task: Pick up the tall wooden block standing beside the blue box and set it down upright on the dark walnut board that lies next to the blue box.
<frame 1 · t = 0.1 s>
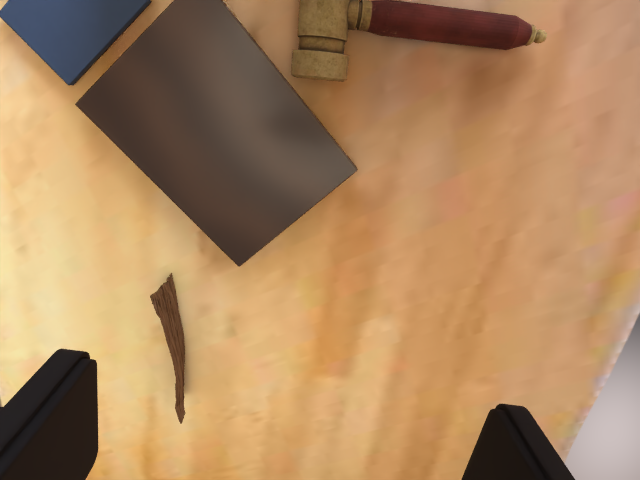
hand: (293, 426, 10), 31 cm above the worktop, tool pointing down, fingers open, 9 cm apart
walnut board: (224, 136, 38), on the worktop
blue box: (77, 8, 34), on the worktop
wood plank: (178, 334, 45), on the worktop
gavel: (418, 25, 35), on the worktop
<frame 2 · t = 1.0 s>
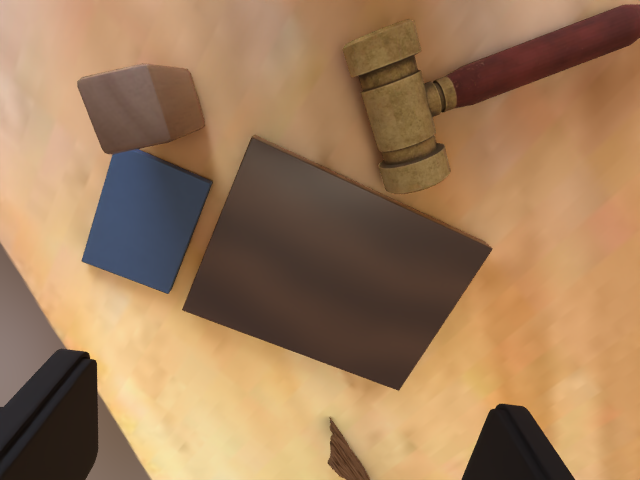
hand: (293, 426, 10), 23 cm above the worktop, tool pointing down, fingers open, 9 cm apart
walnut board: (333, 271, 34), on the worktop
blue box: (147, 220, 32), on the worktop
wood plank: (357, 468, 42), on the worktop
gavel: (503, 67, 29), on the worktop
wooden block: (172, 103, 29), on the worktop
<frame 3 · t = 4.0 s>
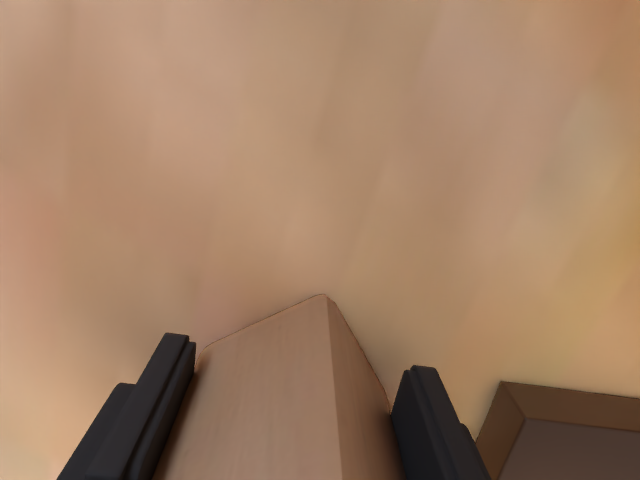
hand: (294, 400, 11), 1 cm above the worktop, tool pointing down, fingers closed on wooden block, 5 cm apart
wooden block: (296, 363, 12), on the worktop, touching gripper
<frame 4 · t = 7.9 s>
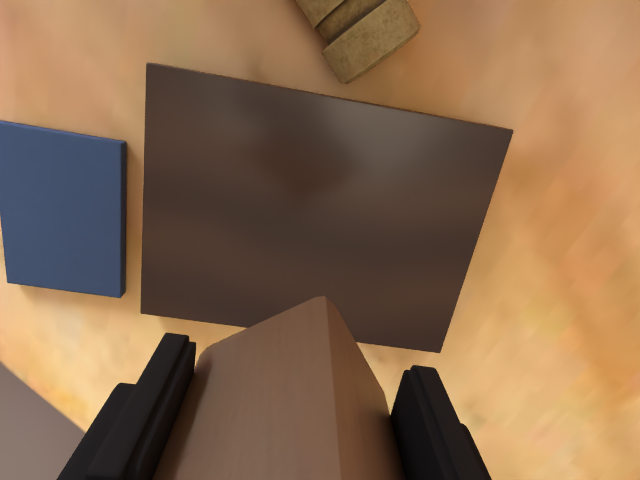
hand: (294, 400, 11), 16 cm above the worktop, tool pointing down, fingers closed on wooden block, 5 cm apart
walnut board: (313, 220, 26), on the worktop
blue box: (67, 213, 25), on the worktop
wooden block: (295, 365, 12), point 15 cm above the worktop, touching gripper
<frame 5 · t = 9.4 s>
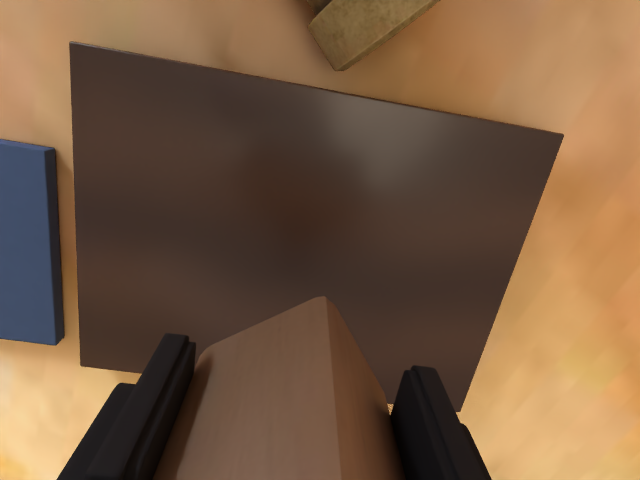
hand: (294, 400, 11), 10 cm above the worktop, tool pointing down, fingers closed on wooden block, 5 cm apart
walnut board: (301, 248, 20), on the worktop
wooden block: (295, 365, 12), point 9 cm above the worktop, touching gripper
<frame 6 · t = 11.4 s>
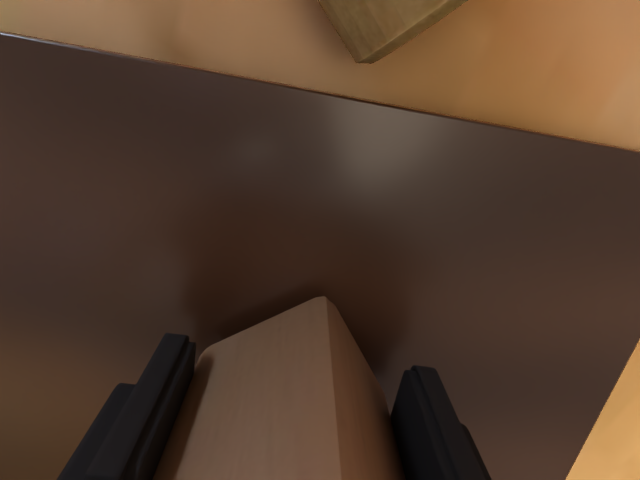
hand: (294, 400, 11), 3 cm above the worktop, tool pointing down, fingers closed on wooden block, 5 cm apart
walnut board: (298, 331, 14), on the worktop
wooden block: (295, 365, 12), point 2 cm above the worktop, touching gripper
when the fingers open (3 cm above the worktop, at t = 11.9 s): wooden block stays where it is, resting on walnut board.
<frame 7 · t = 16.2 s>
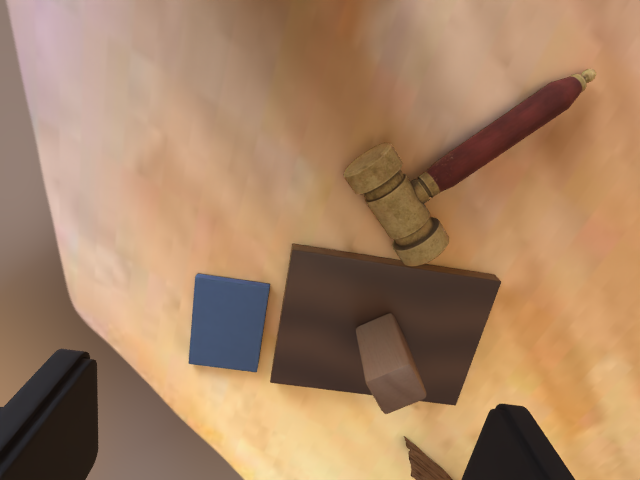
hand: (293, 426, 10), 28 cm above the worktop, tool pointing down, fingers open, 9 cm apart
walnut board: (378, 325, 42), on the worktop
blue box: (229, 322, 41), on the worktop
wood plank: (438, 471, 50), on the worktop
gavel: (471, 146, 36), on the worktop
wooden block: (380, 333, 41), point 1 cm above the worktop, touching walnut board
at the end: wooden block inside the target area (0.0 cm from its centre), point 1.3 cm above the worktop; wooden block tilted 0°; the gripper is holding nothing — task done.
